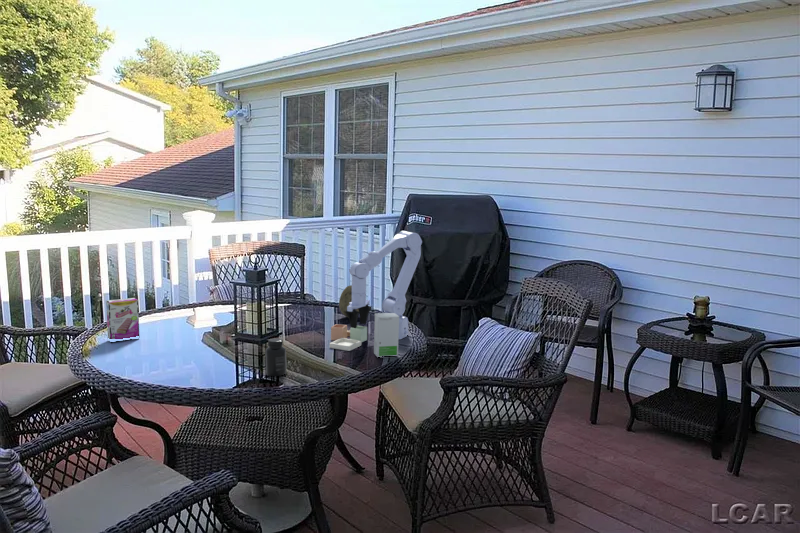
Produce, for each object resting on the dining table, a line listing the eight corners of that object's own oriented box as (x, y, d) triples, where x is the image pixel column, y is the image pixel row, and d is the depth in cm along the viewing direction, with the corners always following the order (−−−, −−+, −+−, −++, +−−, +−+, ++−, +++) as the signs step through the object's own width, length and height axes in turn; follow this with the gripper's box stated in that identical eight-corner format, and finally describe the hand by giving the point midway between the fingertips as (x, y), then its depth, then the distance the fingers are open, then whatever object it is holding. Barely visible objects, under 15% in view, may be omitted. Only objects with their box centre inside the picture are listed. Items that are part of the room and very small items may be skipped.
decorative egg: (346, 313, 310) (346, 282, 308) (366, 316, 305) (366, 284, 303) (334, 318, 301) (334, 286, 298) (355, 321, 296) (355, 288, 294)
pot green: (367, 340, 266) (367, 326, 265) (360, 343, 261) (360, 329, 260) (356, 338, 268) (356, 325, 267) (350, 341, 264) (350, 328, 263)
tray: (361, 345, 258) (361, 340, 257) (349, 351, 250) (349, 346, 250) (341, 342, 262) (341, 337, 261) (329, 347, 254) (329, 343, 254)
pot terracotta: (347, 338, 268) (347, 325, 267) (342, 341, 263) (342, 328, 262) (335, 337, 269) (335, 324, 269) (331, 340, 265) (331, 327, 264)
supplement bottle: (287, 370, 225) (287, 337, 223) (284, 377, 219) (284, 342, 217) (267, 370, 225) (267, 337, 223) (264, 377, 218) (263, 342, 216)
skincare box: (377, 358, 241) (377, 317, 239) (373, 353, 248) (373, 313, 245) (399, 356, 244) (399, 316, 241) (394, 351, 250) (395, 312, 247)
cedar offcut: (360, 335, 273) (360, 331, 273) (358, 337, 270) (358, 332, 270) (347, 334, 274) (347, 330, 274) (344, 336, 271) (344, 331, 271)
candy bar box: (110, 343, 255) (108, 302, 252) (107, 340, 259) (105, 300, 256) (140, 339, 261) (138, 299, 259) (137, 336, 265) (135, 297, 263)
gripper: (359, 288, 270) (359, 320, 272) (340, 294, 257) (340, 328, 259) (374, 290, 266) (373, 322, 269) (356, 296, 254) (355, 330, 256)
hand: (358, 325), depth 264 cm, fingers open, 7 cm apart
